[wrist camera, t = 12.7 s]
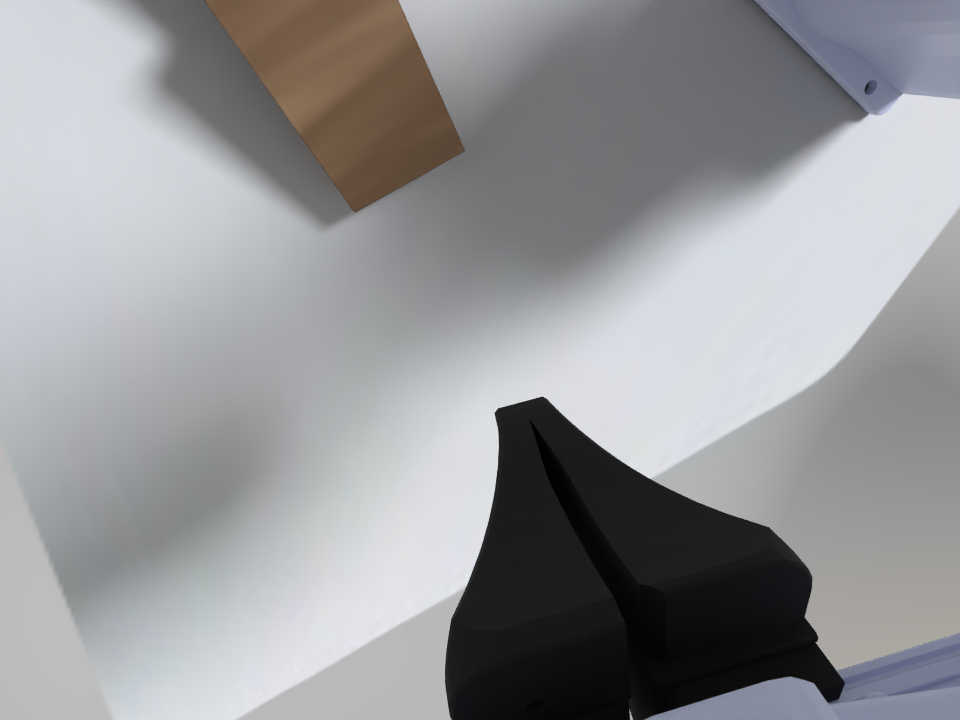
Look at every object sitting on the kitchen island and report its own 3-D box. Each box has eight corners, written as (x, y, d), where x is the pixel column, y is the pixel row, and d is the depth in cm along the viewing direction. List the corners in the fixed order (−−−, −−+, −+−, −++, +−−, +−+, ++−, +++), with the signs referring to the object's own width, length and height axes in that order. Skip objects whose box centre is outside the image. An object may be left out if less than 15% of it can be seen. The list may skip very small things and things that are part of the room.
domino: (465, 150, 18) (357, -93, 13) (354, 212, 18) (204, 1, 13) (452, 131, 19) (347, -102, 14) (347, 190, 19) (206, -15, 14)
